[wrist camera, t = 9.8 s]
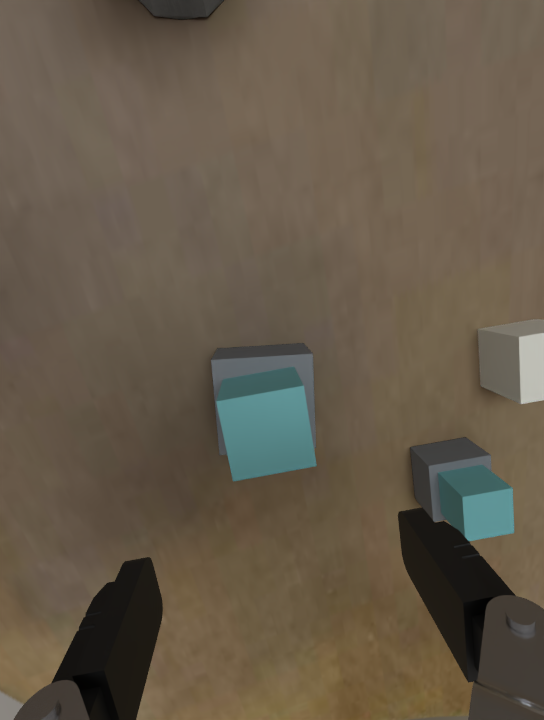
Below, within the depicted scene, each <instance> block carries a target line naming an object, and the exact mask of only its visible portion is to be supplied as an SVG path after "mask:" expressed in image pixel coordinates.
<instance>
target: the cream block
mask: <svg viewBox="0 0 544 720" xmlns="http://www.w3.org/2000/svg"><path fill="white" fill-rule="evenodd" d="M478 346H479V366H480V386H481V387H483V388H486V389H488V390H490V391H492V392H495V393H497V394H499V395H502V396H504V397H506V398H508V399H511V400H513V401H515V402H517V403H520V404H524V403H530V402H535V401H541V400H544V320H540V319H533V320H527V321H521V322H516V323H510V324H504V325H498V326H492V327H486V328H480V329H478Z"/></svg>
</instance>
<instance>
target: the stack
mask: <svg viewBox="0 0 544 720" xmlns="http://www.w3.org/2000/svg"><path fill="white" fill-rule="evenodd" d="M410 451H411V461H412V472H413V482H414V493H415V499H416V500H417V501H418V502H419V504H420V505H421V506H422V508H423V509H424V510H425V511H426V512H427V513H428V515H429V516H430V517H431V518H432V520H433V521H434V522H436V521H441V520H448V522H449V523H450V524H451V525H452V526H453V527H454V528H456V529H458V530H459V531H460V532H461V533H462V534H463V535H464V536H465V538H466V539H467V540H468V541H473V540H478V539H484V538H489V537H494V536H500V535H505V534H511V533H514V514H513V488H512V487H511V486H509V485H508V484H507V483H505V482H504V481H503V480H502V479H500V478H499V477H498V476H496V475H495V474H494V473H493V472H491V455H490V454H489V453H487V452H486V451H484V450H483V449H482V448H480V447H479V446H477V445H476V444H474V443H473V442H472V441H470V440H469V439H467V438H466V437H465V438H459V439H453V440H448V441H442V442H436V443H431V444H425V445H420V446H414V447H410Z"/></svg>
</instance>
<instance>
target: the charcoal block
mask: <svg viewBox="0 0 544 720" xmlns="http://www.w3.org/2000/svg"><path fill="white" fill-rule="evenodd" d="M211 364H212V375H213V386H214V398H215V409H216V420H217V432H218V443H219V454H220V455H227V450H226V446H225V441H224V436H223V431H222V427H221V422H220V417H219V413H218V408H217V403H216V400H217V397H218V394H219V390H220V387H221V384H222V381H223V379H227V378H233V377H238V376H244V375H249V374H255V373H260V372H266V371H271V370H277V369H283V368H288V367H295V369H296V371H297V373H298V375H299V377H300V379H301V381H302V383H303V385H304V391H305V397H306V403H307V409H308V415H309V422H310V428H311V434H312V440H313V447H314V448H316V436H315V405H314V375H313V353H312V352H311V351H310V350H309V349H308V348H307V347H306V345H305V344H304V343H297V344H281V345H265V346H249V347H233V348H217V350H216V352H215V354H214V356H213V358H212V359H211Z"/></svg>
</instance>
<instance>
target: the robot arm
mask: <svg viewBox="0 0 544 720" xmlns="http://www.w3.org/2000/svg"><path fill="white" fill-rule="evenodd" d="M398 521H399V530H400V540H401V550H402V557H403V561H404V564H405V567H406V570H407V572H408V574H409V576H410V578H411V580H412V582H413V584H414V585H415V587H416V589H417V591H418V593H419V594H420V596H421V598H422V600H423V602H424V603H425V605H426V607H427V609H428V611H429V613H430V614H431V616H432V618H433V620H434V622H435V623H436V625H437V627H438V629H439V631H440V632H441V634H442V636H443V638H444V640H445V641H446V643H447V645H448V647H449V649H450V650H451V652H452V654H453V656H454V658H455V659H456V661H457V663H458V665H459V667H460V668H461V670H462V672H463V674H464V676H465V677H466V679H467V681H468V682H473V681H474V683H473V688H472V694H471V702H470V710H469V718H468V720H544V609H543V608H541V607H540V606H539V605H537V604H535V603H534V602H532V601H529V600H527V599H525V598H522V597H518V596H515V594H514V593H513V592H512V591H511V590H510V589H509V587H508V586H507V585H506V584H505V583H504V582H503V580H502V579H501V578H500V577H499V576H498V575H497V573H496V572H495V571H494V570H493V569H492V568H491V567H490V565H489V564H488V563H487V562H486V561H485V560H484V558H483V557H482V556H480V555H479V553H478V551H477V550H476V549H475V548H474V547H473V546H471V544H470V542H469V541H468V540H467V539H466V538H465V536H464V535H463V534H462V533H461V532H460V531H459V530H458V529H456V528H454V527H453V526H451V525H449V524H448V523H446V522H444V521H442V522H437V523H435V522H434V521H433V520H432V518H431V517H430V516H429V515H428V513H427V512H426V511H425V510H424V509H423V508H417V509H411V510H406V511H400V512H399V513H398ZM162 612H163V606H162V597H161V593H160V589H159V586H158V582H157V578H156V574H155V570H154V566H153V563H152V560H151V558H150V557H147V558H141V559H136V560H130V561H125V562H124V563H123V565H122V567H121V569H120V571H119V573H118V576H117V578H116V580H115V582H109V583H107V584H106V585H105V586H104V587H103V588H102V589H101V590H100V591H99V593H98V594H97V595H96V596H95V597H94V598H93V600H92V602H91V604H90V606H89V608H88V610H87V612H86V617H84V618H83V620H82V622H81V624H80V626H79V631H77V632H76V634H75V636H74V638H73V641H72V643H71V645H70V647H69V649H68V651H67V653H66V655H65V657H64V659H63V661H62V663H61V665H60V667H59V669H58V671H57V673H56V675H55V677H54V679H53V681H52V683H51V684H49V685H47V686H46V687H44V688H42V689H41V690H39V691H38V692H37V693H35V694H34V695H33V696H32V697H31V698H30V699H29V700H28V701H27V702H26V703H25V704H24V705H23V706H22V708H21V709H20V710H19V712H18V713H17V715H16V716H15V718H14V720H136V717H137V714H138V710H139V706H140V702H141V698H142V694H143V690H144V686H145V683H146V679H147V675H148V671H149V667H150V663H151V659H152V656H153V652H154V648H155V644H156V640H157V636H158V632H159V629H160V625H161V621H162Z"/></svg>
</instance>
